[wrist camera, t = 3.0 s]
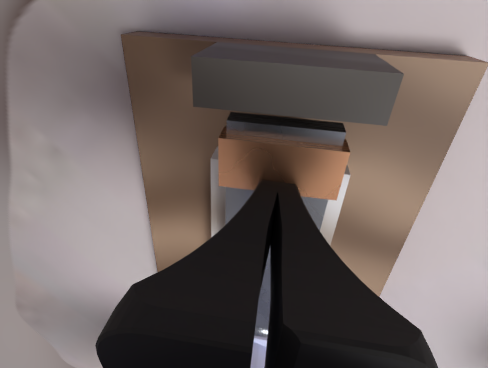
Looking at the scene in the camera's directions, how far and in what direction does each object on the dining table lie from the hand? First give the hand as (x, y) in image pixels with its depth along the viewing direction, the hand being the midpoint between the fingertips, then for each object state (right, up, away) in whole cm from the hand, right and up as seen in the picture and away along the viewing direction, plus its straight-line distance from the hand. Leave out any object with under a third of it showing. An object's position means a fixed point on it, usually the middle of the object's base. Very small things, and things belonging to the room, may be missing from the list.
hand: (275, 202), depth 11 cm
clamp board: (0, 0, +6) cm, 6 cm away
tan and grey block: (0, -2, +3) cm, 4 cm away
